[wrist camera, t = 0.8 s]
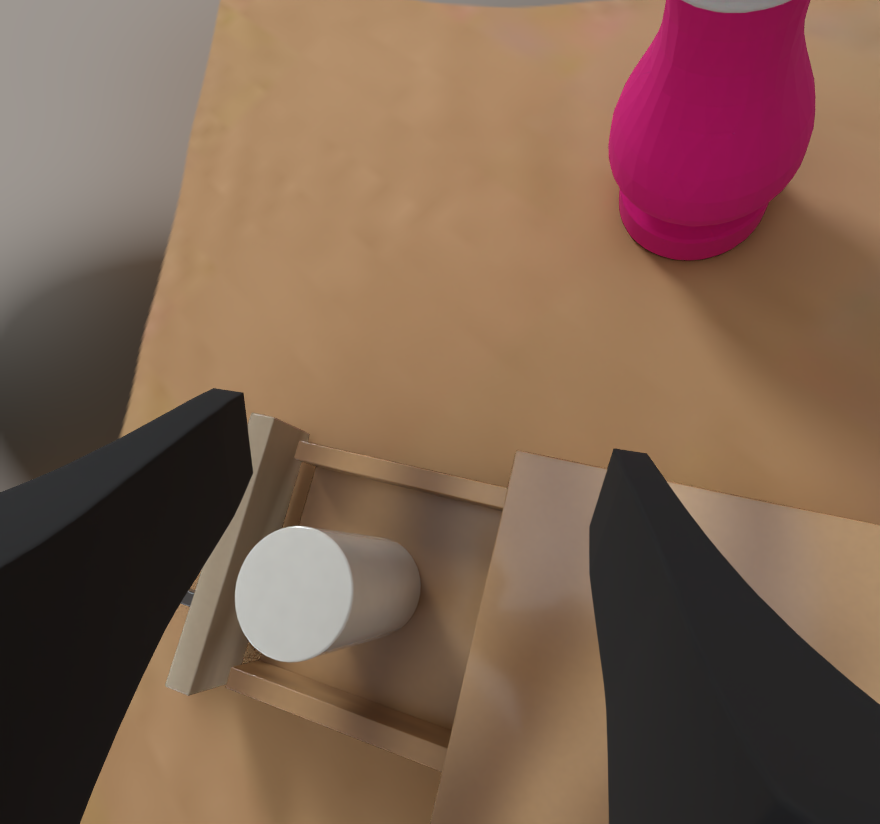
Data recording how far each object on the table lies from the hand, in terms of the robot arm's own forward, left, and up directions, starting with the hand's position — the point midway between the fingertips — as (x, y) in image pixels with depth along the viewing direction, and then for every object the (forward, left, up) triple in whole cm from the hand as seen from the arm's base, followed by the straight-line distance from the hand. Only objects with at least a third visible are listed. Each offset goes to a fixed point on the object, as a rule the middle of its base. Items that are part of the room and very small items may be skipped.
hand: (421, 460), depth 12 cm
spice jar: (-4, +5, -13) cm, 15 cm away
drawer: (-4, +7, -14) cm, 16 cm away
